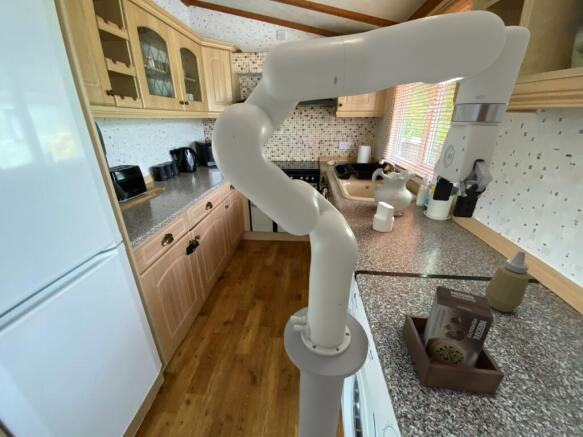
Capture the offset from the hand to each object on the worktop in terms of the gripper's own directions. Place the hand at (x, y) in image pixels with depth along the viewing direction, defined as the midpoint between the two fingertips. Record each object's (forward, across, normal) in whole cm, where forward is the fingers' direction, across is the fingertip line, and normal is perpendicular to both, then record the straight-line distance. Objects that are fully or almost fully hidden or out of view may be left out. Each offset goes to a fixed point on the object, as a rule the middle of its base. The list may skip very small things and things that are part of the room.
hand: (449, 207), depth 49 cm
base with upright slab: (+33, -62, +3) cm, 71 cm away
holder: (+33, +8, +4) cm, 34 cm away
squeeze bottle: (+33, -13, +27) cm, 45 cm away
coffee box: (+33, +8, +4) cm, 34 cm away
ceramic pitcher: (+33, -86, +10) cm, 92 cm away
